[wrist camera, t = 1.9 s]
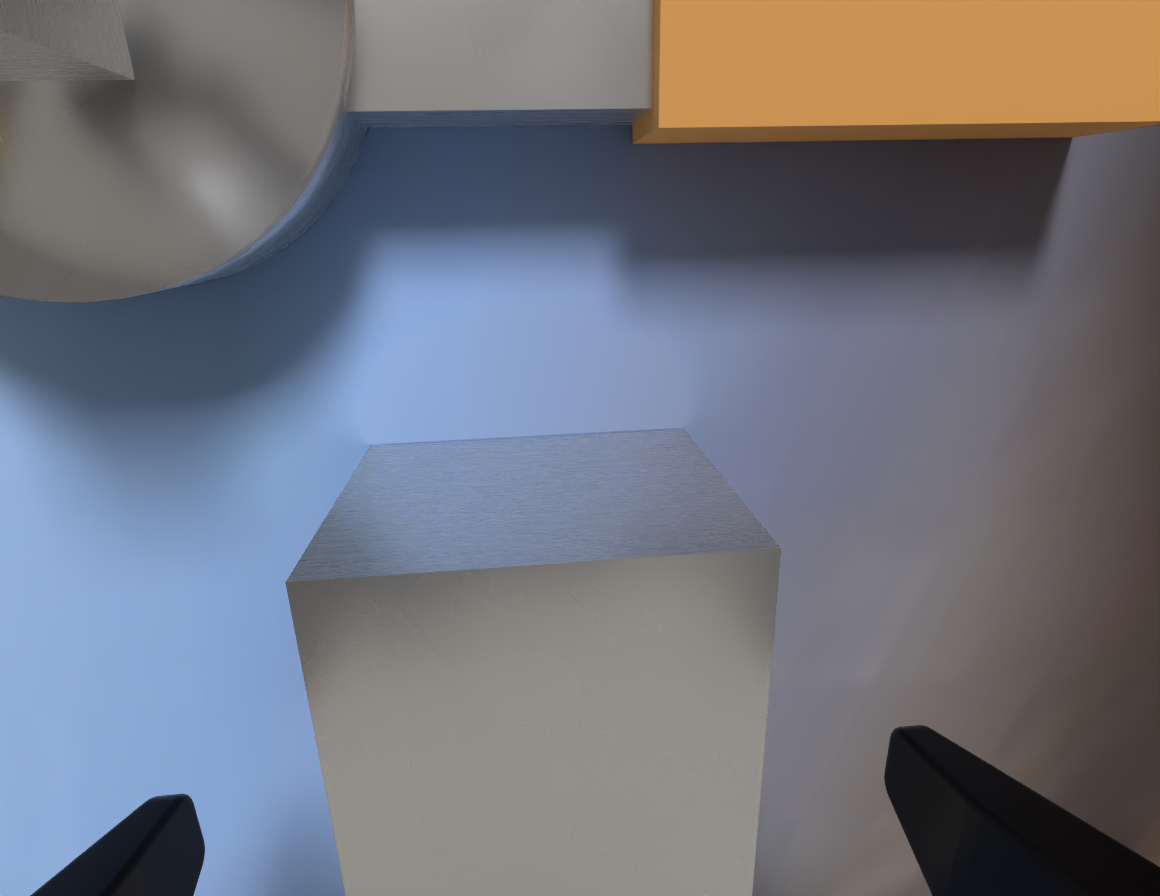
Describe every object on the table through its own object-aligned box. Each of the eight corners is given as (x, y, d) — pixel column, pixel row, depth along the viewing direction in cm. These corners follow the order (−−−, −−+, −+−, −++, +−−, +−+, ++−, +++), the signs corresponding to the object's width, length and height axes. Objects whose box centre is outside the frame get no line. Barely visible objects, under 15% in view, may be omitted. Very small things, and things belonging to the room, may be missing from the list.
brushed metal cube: (683, 429, 13) (781, 547, 8) (676, 683, 15) (751, 896, 10) (370, 445, 13) (285, 582, 8) (405, 706, 15) (354, 941, 10)
